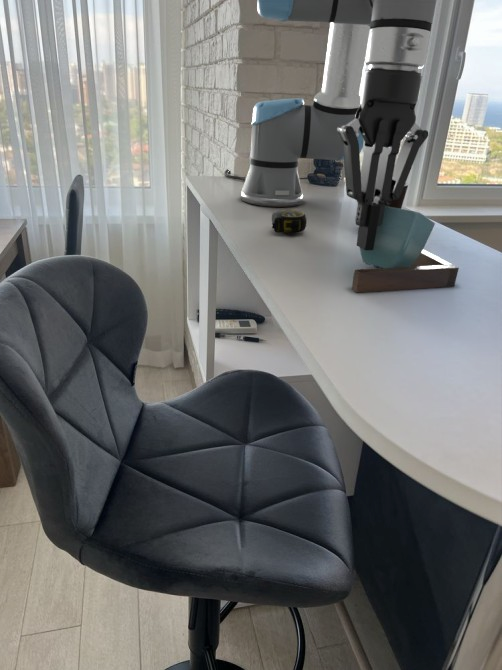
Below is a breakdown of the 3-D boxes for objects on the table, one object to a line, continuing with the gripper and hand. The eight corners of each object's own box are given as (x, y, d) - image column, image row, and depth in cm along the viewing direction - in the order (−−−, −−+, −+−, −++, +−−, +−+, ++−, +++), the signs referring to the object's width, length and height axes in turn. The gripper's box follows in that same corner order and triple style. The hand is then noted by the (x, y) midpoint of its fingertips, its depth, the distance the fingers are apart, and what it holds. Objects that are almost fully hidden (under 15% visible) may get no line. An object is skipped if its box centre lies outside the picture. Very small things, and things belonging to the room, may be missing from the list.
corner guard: (304, 252, 88) (306, 235, 87) (387, 248, 93) (390, 232, 91) (356, 292, 72) (359, 272, 70) (454, 286, 76) (459, 267, 75)
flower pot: (367, 265, 85) (384, 212, 83) (417, 278, 80) (436, 223, 79) (346, 259, 78) (363, 201, 76) (399, 273, 73) (419, 212, 71)
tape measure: (270, 226, 103) (272, 208, 101) (304, 228, 103) (306, 210, 101) (271, 235, 97) (272, 216, 95) (306, 237, 97) (308, 218, 95)
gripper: (362, 64, 60) (335, 256, 70) (453, 72, 64) (416, 254, 74) (335, 66, 67) (314, 241, 77) (420, 73, 70) (389, 240, 80)
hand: (364, 247), depth 75 cm, fingers closed
